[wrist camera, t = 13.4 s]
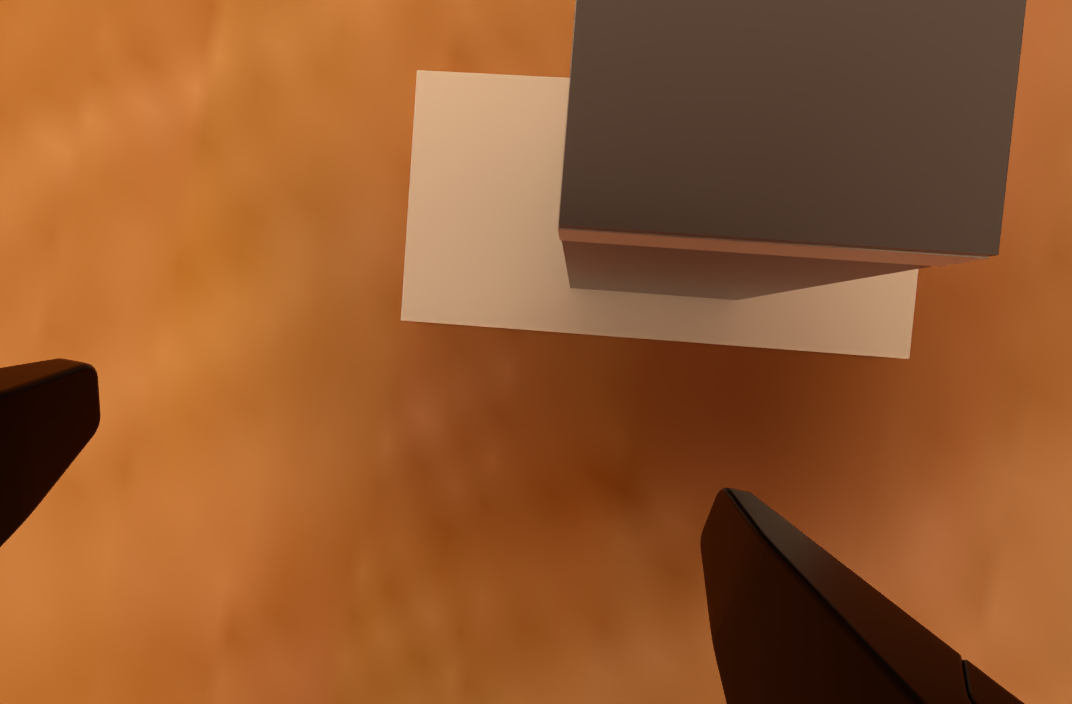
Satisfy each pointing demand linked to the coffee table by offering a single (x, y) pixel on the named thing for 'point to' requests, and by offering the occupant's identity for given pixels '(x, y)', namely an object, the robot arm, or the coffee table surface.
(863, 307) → the board
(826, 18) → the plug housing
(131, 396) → the coffee table surface
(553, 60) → the coffee table surface
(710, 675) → the coffee table surface
